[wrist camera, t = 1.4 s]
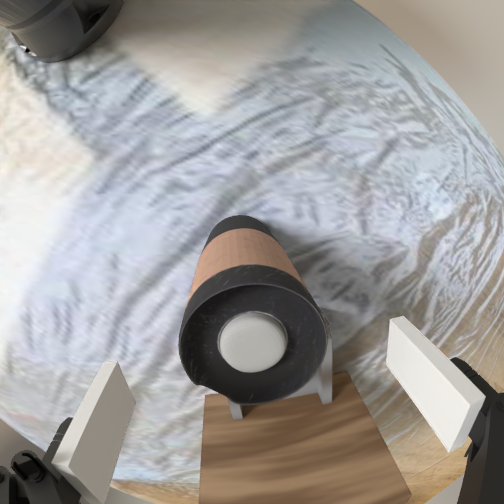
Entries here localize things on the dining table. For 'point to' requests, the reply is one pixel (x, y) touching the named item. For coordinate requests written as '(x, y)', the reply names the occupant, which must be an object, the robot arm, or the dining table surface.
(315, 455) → the l-shaped stand
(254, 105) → the dining table surface
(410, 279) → the dining table surface
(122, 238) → the dining table surface
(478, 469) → the robot arm
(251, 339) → the travel mug
